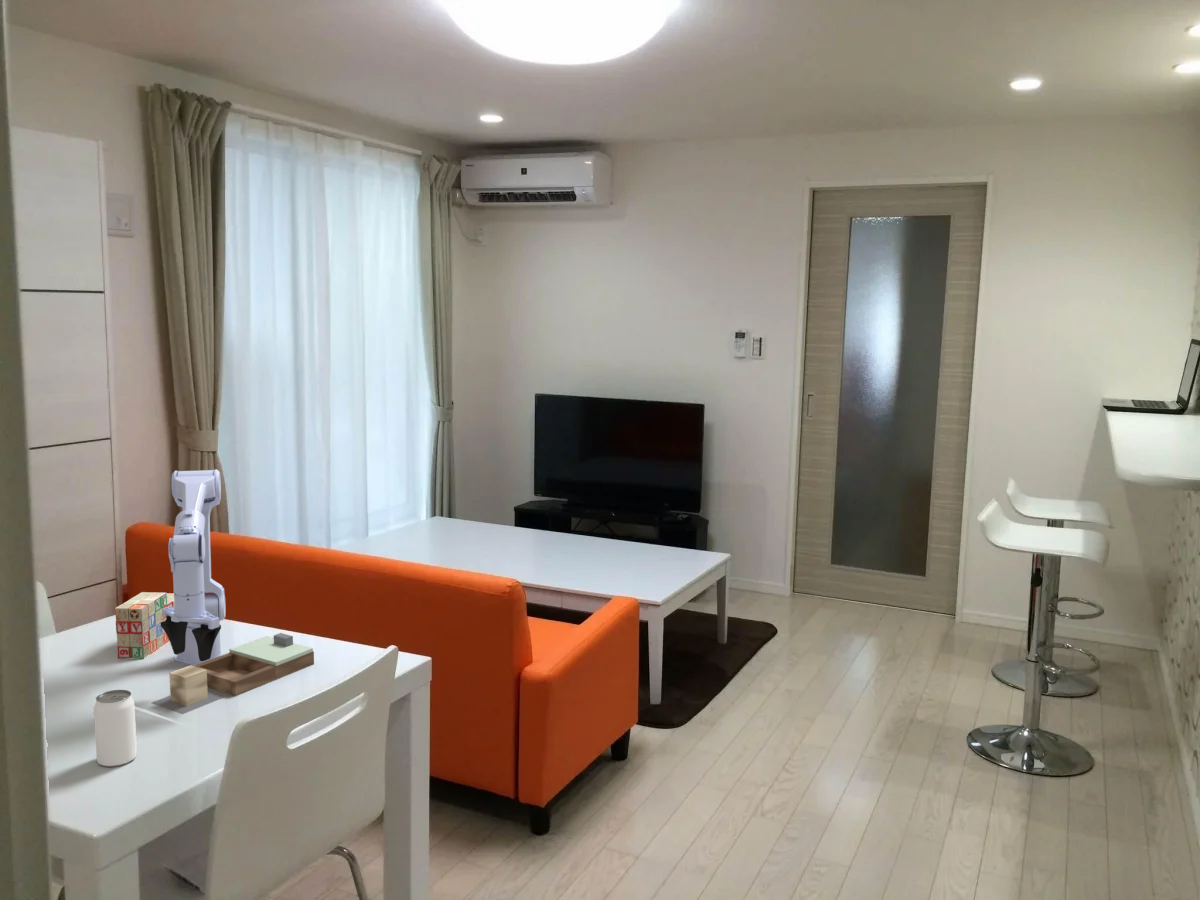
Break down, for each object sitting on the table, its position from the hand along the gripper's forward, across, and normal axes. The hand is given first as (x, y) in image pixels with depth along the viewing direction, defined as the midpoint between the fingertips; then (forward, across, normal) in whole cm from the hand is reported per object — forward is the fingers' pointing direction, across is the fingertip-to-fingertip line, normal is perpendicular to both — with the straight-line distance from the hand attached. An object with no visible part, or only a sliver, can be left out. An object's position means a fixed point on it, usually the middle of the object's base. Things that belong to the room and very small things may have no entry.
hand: (192, 656), depth 199 cm
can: (+10, +10, -25) cm, 29 cm away
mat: (+9, 0, -2) cm, 9 cm away
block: (+9, 0, -1) cm, 9 cm away
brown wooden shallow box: (+9, 0, +16) cm, 18 cm away
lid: (+6, 0, +21) cm, 22 cm away
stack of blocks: (+10, -36, +18) cm, 42 cm away
